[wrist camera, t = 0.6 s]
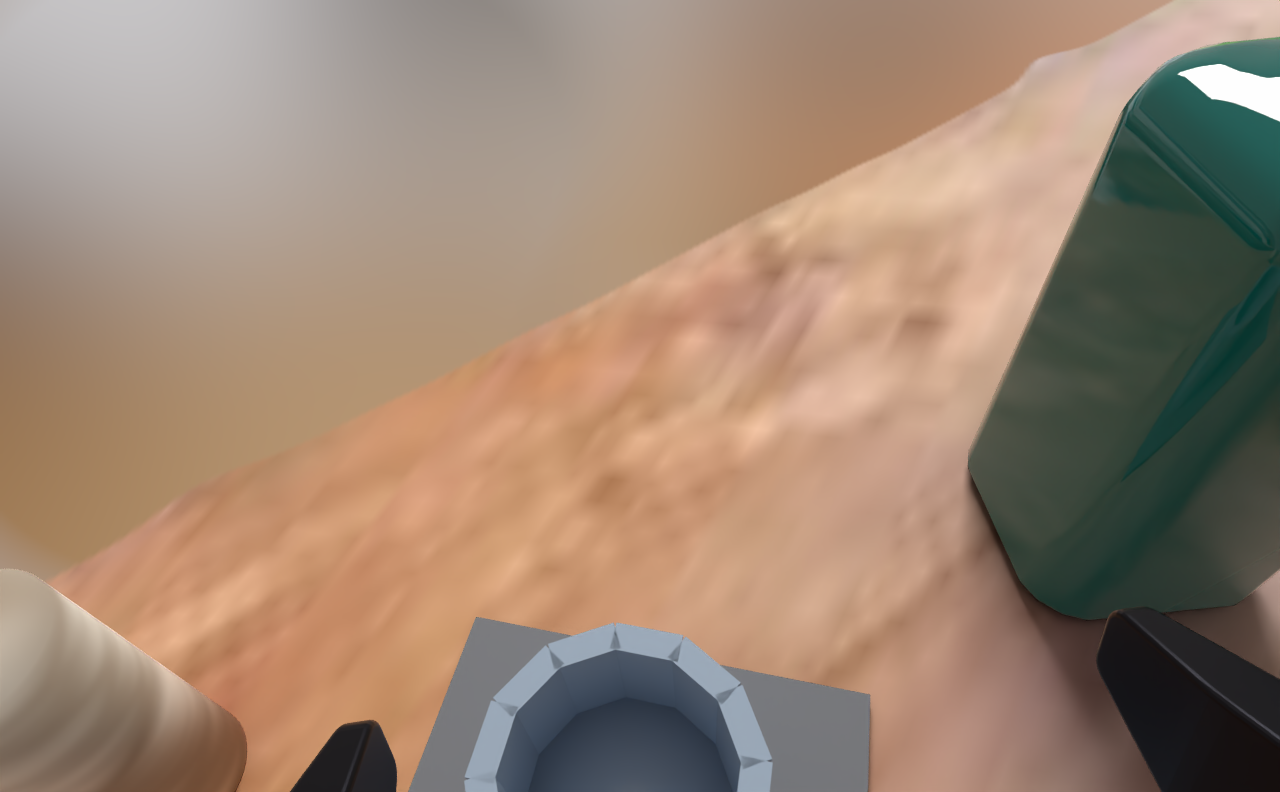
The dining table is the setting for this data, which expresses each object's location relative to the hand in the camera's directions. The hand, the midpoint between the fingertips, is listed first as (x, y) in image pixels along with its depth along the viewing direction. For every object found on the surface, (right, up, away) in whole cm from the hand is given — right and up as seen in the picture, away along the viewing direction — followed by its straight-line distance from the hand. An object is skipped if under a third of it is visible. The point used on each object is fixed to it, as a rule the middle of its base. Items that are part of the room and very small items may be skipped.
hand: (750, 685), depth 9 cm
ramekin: (-2, -9, +14) cm, 16 cm away
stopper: (-17, -9, +16) cm, 25 cm away
